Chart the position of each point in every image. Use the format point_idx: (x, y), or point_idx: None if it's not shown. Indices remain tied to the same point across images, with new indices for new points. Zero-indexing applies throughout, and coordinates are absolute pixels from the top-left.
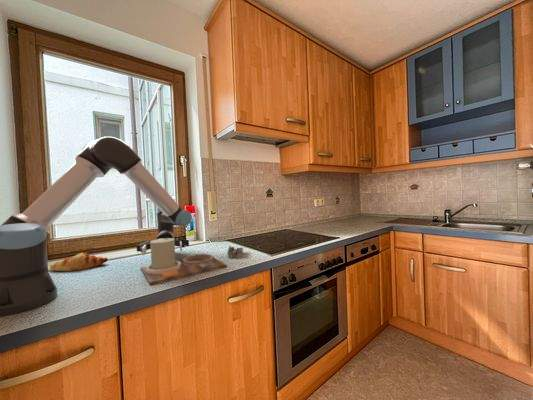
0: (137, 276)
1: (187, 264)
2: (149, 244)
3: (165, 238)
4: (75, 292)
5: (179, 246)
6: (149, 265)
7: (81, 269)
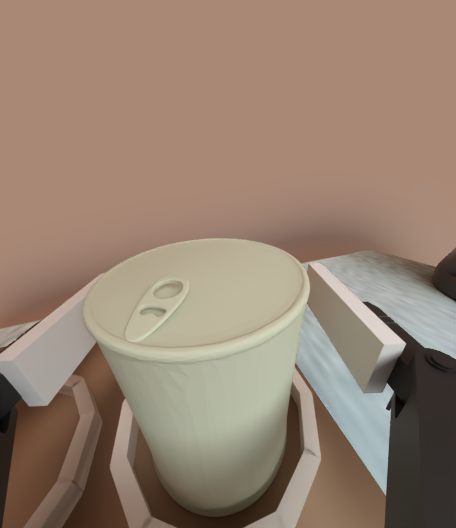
0: (331, 386)
1: (96, 405)
2: (411, 441)
3: (170, 276)
4: (443, 316)
5: (11, 454)
6: (308, 429)
7: None
